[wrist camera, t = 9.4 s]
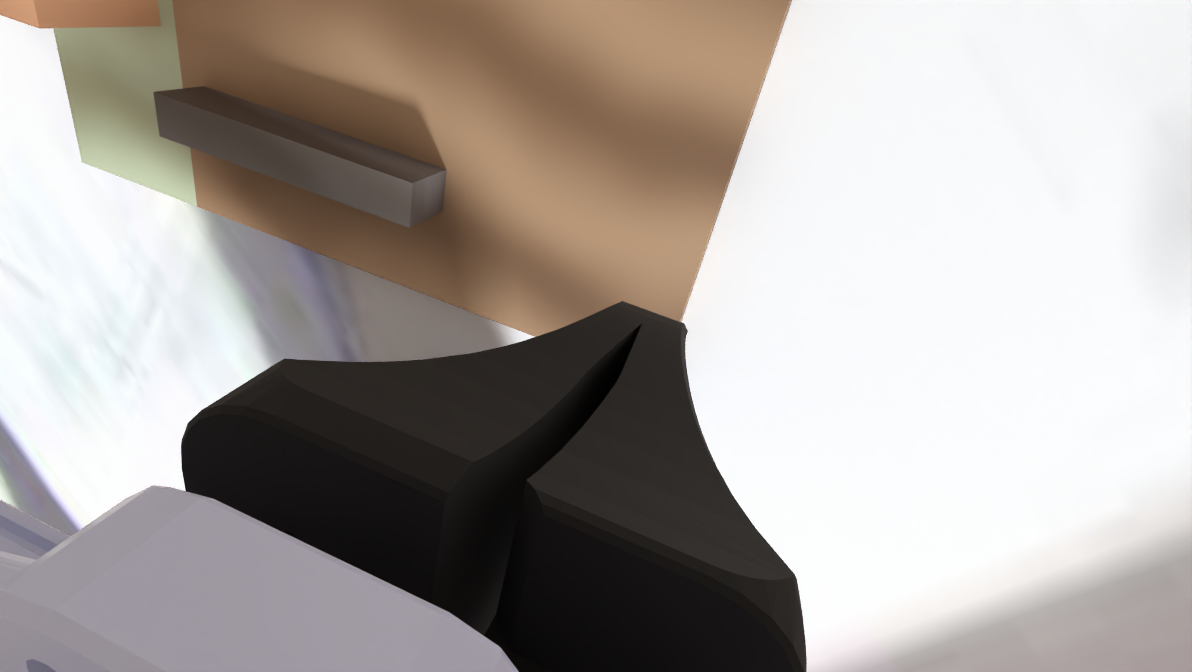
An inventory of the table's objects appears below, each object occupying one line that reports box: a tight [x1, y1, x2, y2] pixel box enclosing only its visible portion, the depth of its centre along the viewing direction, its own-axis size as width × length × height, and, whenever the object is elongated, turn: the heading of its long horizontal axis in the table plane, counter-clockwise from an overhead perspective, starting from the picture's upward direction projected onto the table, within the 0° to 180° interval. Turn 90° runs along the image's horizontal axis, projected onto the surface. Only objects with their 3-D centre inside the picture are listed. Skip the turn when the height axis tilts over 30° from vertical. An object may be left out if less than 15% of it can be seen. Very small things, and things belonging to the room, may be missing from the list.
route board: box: [53, 0, 792, 337], centre depth 19 cm, size 18×26×3 cm
